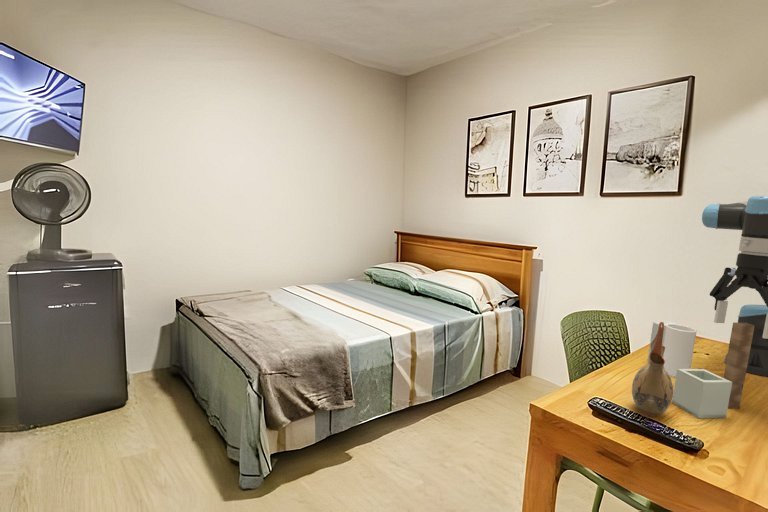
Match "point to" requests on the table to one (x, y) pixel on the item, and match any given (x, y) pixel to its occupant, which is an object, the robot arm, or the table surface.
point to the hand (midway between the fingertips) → (742, 330)
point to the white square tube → (701, 393)
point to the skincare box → (655, 330)
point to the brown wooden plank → (738, 360)
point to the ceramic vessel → (653, 381)
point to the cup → (678, 347)
